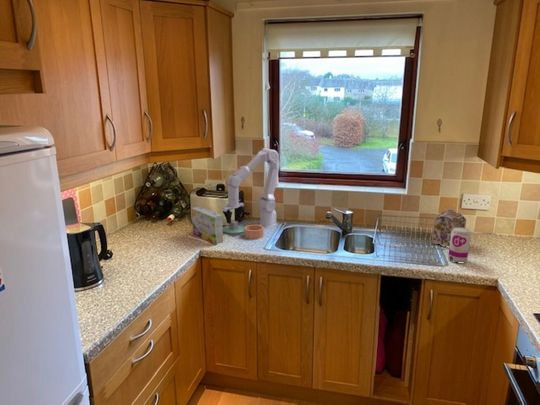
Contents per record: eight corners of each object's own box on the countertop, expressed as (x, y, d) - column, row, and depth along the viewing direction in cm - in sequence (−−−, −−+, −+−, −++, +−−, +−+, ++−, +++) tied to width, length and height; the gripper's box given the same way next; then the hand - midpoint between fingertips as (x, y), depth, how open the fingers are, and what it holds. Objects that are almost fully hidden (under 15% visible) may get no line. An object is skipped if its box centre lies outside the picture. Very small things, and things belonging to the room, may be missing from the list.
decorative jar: (452, 249, 205) (457, 215, 200) (430, 243, 214) (434, 209, 209) (463, 244, 213) (468, 210, 208) (441, 238, 221) (445, 205, 217)
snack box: (191, 234, 222) (190, 207, 218) (200, 232, 226) (200, 206, 222) (214, 245, 207) (214, 216, 203) (223, 243, 210) (223, 214, 207)
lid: (233, 224, 237) (233, 216, 236) (250, 229, 230) (250, 221, 229) (217, 230, 228) (216, 222, 226) (234, 235, 220) (234, 227, 219)
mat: (233, 224, 239) (233, 223, 239) (253, 230, 231) (253, 229, 230) (213, 231, 227) (213, 230, 227) (234, 237, 218) (234, 236, 218)
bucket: (252, 232, 227) (252, 223, 226) (267, 236, 221) (267, 227, 220) (240, 237, 219) (240, 228, 218) (255, 241, 213) (255, 232, 212)
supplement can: (464, 265, 186) (468, 234, 183) (445, 260, 192) (449, 230, 188) (469, 260, 192) (473, 229, 188) (451, 255, 198) (455, 225, 194)
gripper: (236, 193, 232) (237, 217, 235) (218, 198, 221) (219, 223, 224) (246, 196, 228) (246, 219, 231) (228, 201, 217) (228, 225, 220)
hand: (233, 221), depth 227 cm, fingers open, 7 cm apart
